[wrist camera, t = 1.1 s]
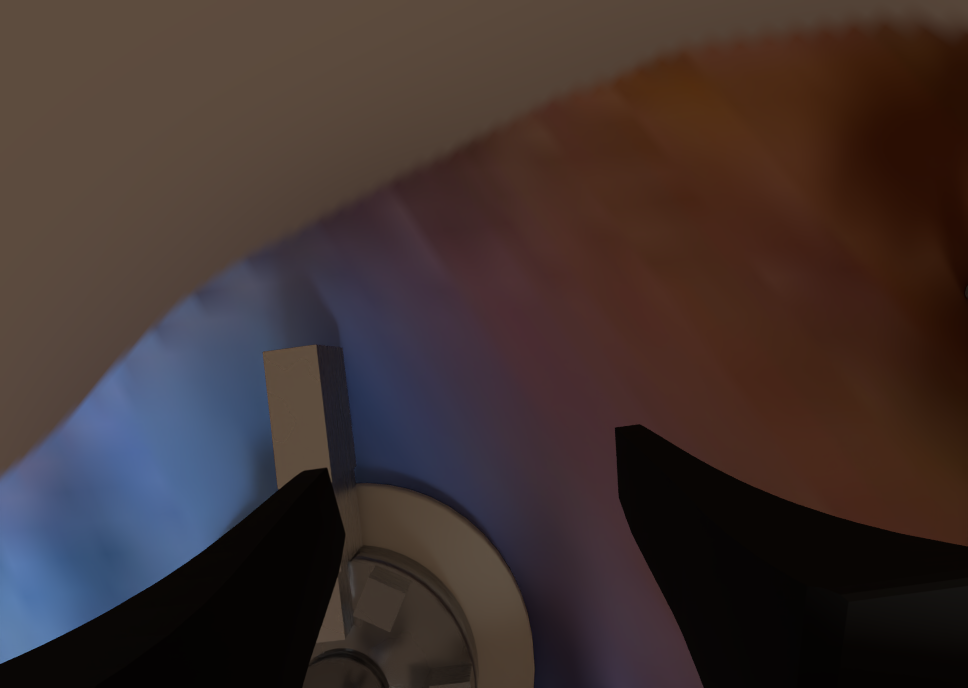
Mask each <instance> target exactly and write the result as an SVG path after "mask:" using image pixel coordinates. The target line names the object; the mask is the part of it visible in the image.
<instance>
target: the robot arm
mask: <svg viewBox="0 0 968 688" xmlns="http://www.w3.org/2000/svg"><path fill="white" fill-rule="evenodd" d="M615 437H616V456H617V474H618V492H619V499H620V502H621V505H622V508H623V511H624V514H625V516H626V519H627V522H628V524H629V527H630V530H631V533H632V535H633V537H634V539H635V541H636V543H637V545H638V547H639V549H640V551H641V552H642V554H643V556H644V558H645V560H646V562H647V564H648V566H649V568H650V570H651V572H652V574H653V576H654V578H655V580H656V582H657V583H658V585H659V587H660V589H661V591H662V593H663V595H664V597H665V599H666V601H667V603H668V605H669V607H670V609H671V611H672V612H673V614H674V617H675V619H676V621H677V623H678V625H679V627H680V629H681V632H682V634H683V636H684V639H685V641H686V644H687V646H688V649H689V651H690V654H691V656H692V659H693V661H694V664H695V666H696V669H697V671H698V674H699V676H700V679H701V681H702V684H703V687H704V688H968V547H967V546H962V545H957V544H952V543H946V542H941V541H936V540H931V539H926V538H920V537H915V536H910V535H905V534H900V533H896V532H892V531H888V530H884V529H880V528H876V527H872V526H868V525H864V524H860V523H856V522H853V521H849V520H846V519H842V518H839V517H835V516H832V515H829V514H826V513H823V512H820V511H817V510H814V509H810V508H807V507H804V506H801V505H798V504H796V503H793V502H790V501H787V500H785V499H782V498H779V497H777V496H775V495H772V494H770V493H767V492H765V491H763V490H760V489H758V488H755V487H753V486H751V485H748V484H746V483H744V482H742V481H740V480H738V479H736V478H734V477H732V476H730V475H728V474H726V473H724V472H722V471H720V470H718V469H716V468H714V467H712V466H710V465H708V464H706V463H705V462H703V461H701V460H699V459H697V458H696V457H694V456H692V455H690V454H689V453H687V452H685V451H684V450H682V449H680V448H679V447H677V446H675V445H674V444H672V443H670V442H669V441H667V440H665V439H664V438H662V437H660V436H659V435H657V434H656V433H654V432H652V431H651V430H649V429H647V428H646V427H644V426H642V425H640V424H638V425H631V426H624V427H616V428H615ZM345 536H346V533H345V530H344V526H343V522H342V519H341V515H340V512H339V508H338V504H337V501H336V497H335V494H334V490H333V486H332V483H331V479H330V476H329V472H328V469H327V467H326V468H319V469H312V470H305V471H302V472H301V473H299V474H298V475H296V476H295V477H294V478H292V479H291V480H290V481H289V482H287V483H286V484H285V485H284V486H283V487H281V488H280V489H279V490H278V491H277V492H275V493H274V494H273V495H272V496H271V497H270V498H268V499H267V500H266V501H265V502H264V503H263V504H261V505H260V506H259V507H258V508H257V509H255V510H254V511H253V512H252V513H251V514H249V515H248V516H247V517H246V518H245V519H243V520H242V521H241V522H240V523H238V524H237V525H236V526H235V527H233V528H232V529H231V530H230V531H228V532H227V533H226V534H224V535H223V536H222V537H221V538H219V539H218V540H217V541H215V542H214V543H213V544H212V545H210V546H209V547H208V548H206V549H205V550H204V551H202V552H201V553H200V554H198V555H197V556H195V557H194V558H193V559H191V560H190V561H188V562H187V563H186V564H184V565H183V566H181V567H180V568H178V569H177V570H175V571H174V572H172V573H171V574H169V575H168V576H166V577H165V578H163V579H161V580H160V581H158V582H157V583H155V584H154V585H152V586H150V587H149V588H147V589H145V590H143V591H142V592H140V593H138V594H137V595H135V596H133V597H132V598H130V599H128V600H126V601H125V602H123V603H121V604H120V605H118V606H116V607H114V608H113V609H111V610H109V611H108V612H106V613H104V614H102V615H100V616H99V617H97V618H95V619H93V620H91V621H89V622H87V623H85V624H83V625H81V626H80V627H78V628H76V629H74V630H72V631H70V632H68V633H66V634H64V635H62V636H60V637H58V638H56V639H54V640H52V641H50V642H48V643H46V644H44V645H41V646H39V647H37V648H35V649H33V650H31V651H29V652H27V653H24V654H22V655H20V656H18V657H15V658H13V659H11V660H8V661H6V662H4V663H2V664H0V688H302V687H303V683H304V680H305V676H306V673H307V669H308V666H309V662H310V659H311V656H312V653H313V650H314V647H315V644H316V641H317V638H318V635H319V632H320V629H321V626H322V623H323V620H324V617H325V614H326V611H327V608H328V605H329V602H330V599H331V596H332V593H333V590H334V587H335V584H336V580H337V577H338V574H339V570H340V565H341V560H342V554H343V548H344V542H345Z"/></svg>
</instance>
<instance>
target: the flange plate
mask: <svg viewBox="0 0 968 688" xmlns="http://www.w3.org/2000/svg"><path fill="white" fill-rule="evenodd" d="M356 490H357V498H358V506H359V515H360V523H361V532H362V540H363V545H366V546H376V547H380V548H385V549H389V550H392V551H395V552H398V553H400V554H403V555H405V556H407V557H409V558H411V559H413V560H415V561H417V562H418V563H420V564H421V565H423V566H424V567H426V568H427V569H428V570H430V571H431V572H432V573H433V574H435V575H436V576H437V577H438V578H439V579H440V580H441V581H442V582H443V583H444V584H445V585H446V586H447V588H448V589H449V590H450V591H451V592H452V594H453V595H454V596H455V598H456V599H457V601H458V603H459V604H460V606H461V607H462V609H463V611H464V613H465V615H466V617H467V619H468V621H469V624H470V627H471V630H472V633H473V636H474V639H475V644H476V649H477V654H478V667H479V677H478V688H534V671H535V668H534V654H533V641H532V632H531V627H530V622H529V617H528V612H527V609H526V606H525V603H524V600H523V597H522V594H521V591H520V589H519V586H518V584H517V582H516V580H515V578H514V576H513V574H512V572H511V570H510V568H509V567H508V565H507V564H506V562H505V561H504V559H503V558H502V556H501V555H500V553H499V551H498V550H497V549H496V548H495V547H494V545H493V544H492V543H491V542H490V541H489V540H488V538H487V537H486V536H485V535H484V534H483V533H482V532H481V531H480V530H479V529H478V528H477V527H476V526H475V525H473V524H472V523H471V522H470V521H469V520H468V519H467V518H465V517H464V516H462V515H461V514H459V513H458V512H457V511H455V510H454V509H452V508H451V507H449V506H448V505H446V504H444V503H442V502H440V501H438V500H436V499H434V498H432V497H430V496H427V495H425V494H422V493H419V492H416V491H413V490H411V489H407V488H402V487H397V486H393V485H388V484H374V483H357V484H356Z"/></svg>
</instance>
